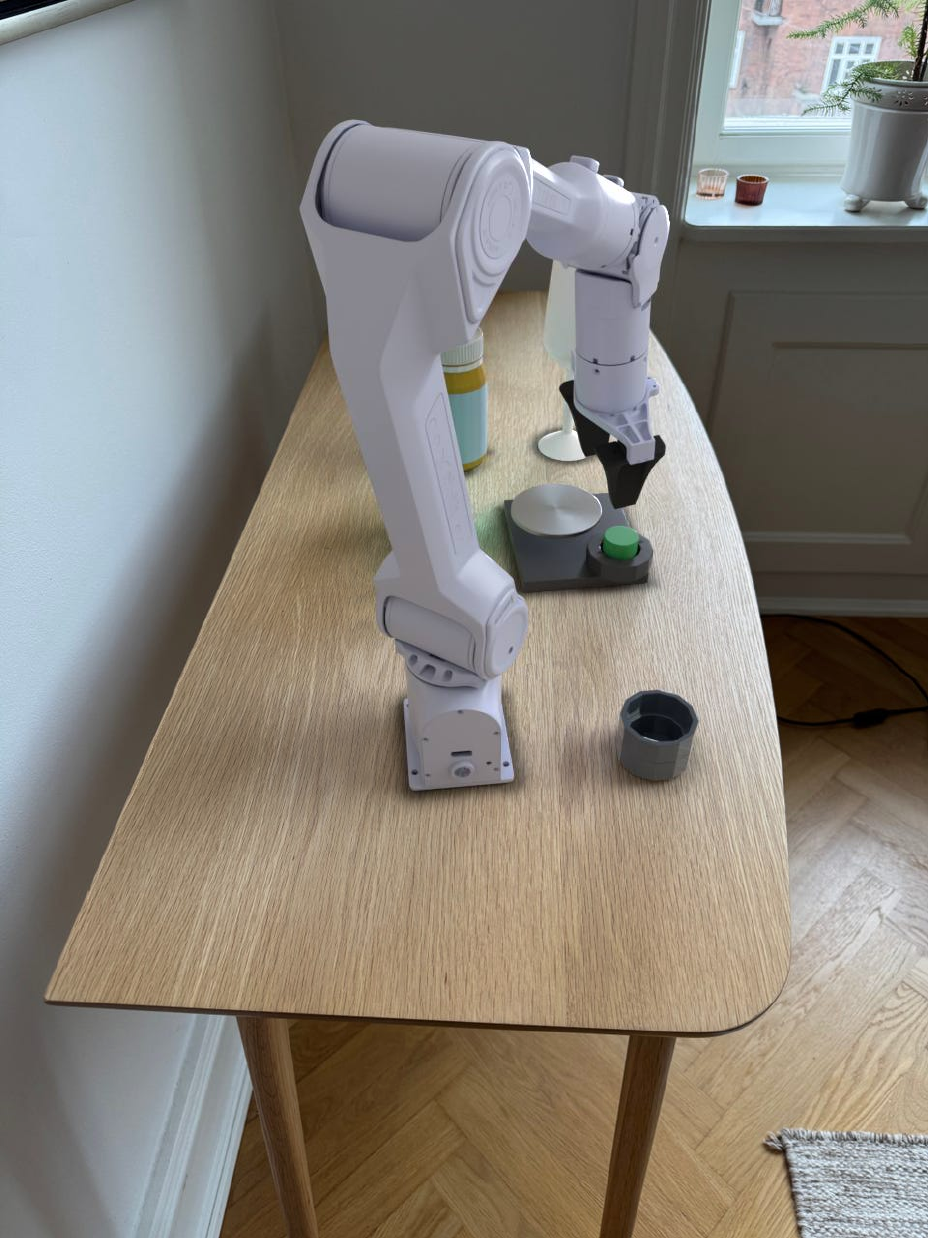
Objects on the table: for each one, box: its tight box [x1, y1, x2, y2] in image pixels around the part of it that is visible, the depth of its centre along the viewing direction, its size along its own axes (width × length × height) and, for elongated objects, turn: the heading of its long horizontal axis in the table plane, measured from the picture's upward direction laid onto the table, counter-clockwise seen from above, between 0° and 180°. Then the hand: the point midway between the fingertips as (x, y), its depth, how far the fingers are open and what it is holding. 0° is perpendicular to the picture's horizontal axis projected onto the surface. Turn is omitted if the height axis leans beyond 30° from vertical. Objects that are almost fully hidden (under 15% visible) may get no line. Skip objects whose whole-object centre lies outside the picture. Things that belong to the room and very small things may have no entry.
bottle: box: [440, 325, 488, 472], centre depth 100 cm, size 7×7×15 cm
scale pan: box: [511, 483, 602, 539], centre depth 91 cm, size 9×9×1 cm
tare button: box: [603, 526, 639, 560], centre depth 86 cm, size 3×3×2 cm
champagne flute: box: [537, 259, 587, 462], centre depth 99 cm, size 7×7×24 cm
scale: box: [503, 492, 655, 593], centre depth 91 cm, size 15×12×3 cm
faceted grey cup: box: [615, 689, 699, 782], centre depth 70 cm, size 6×6×4 cm
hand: (608, 477), depth 83 cm, fingers open, 7 cm apart
